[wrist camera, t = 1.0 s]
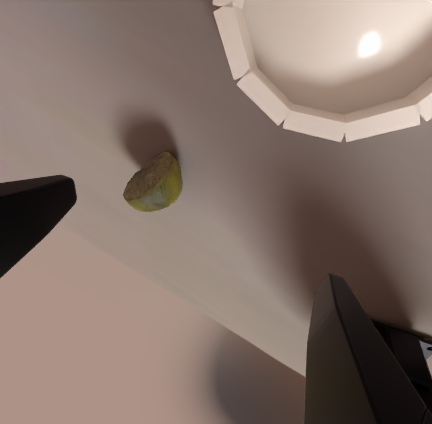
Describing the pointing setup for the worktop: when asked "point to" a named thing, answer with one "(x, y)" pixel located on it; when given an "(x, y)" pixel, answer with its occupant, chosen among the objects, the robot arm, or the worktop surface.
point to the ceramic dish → (332, 62)
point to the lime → (155, 184)
